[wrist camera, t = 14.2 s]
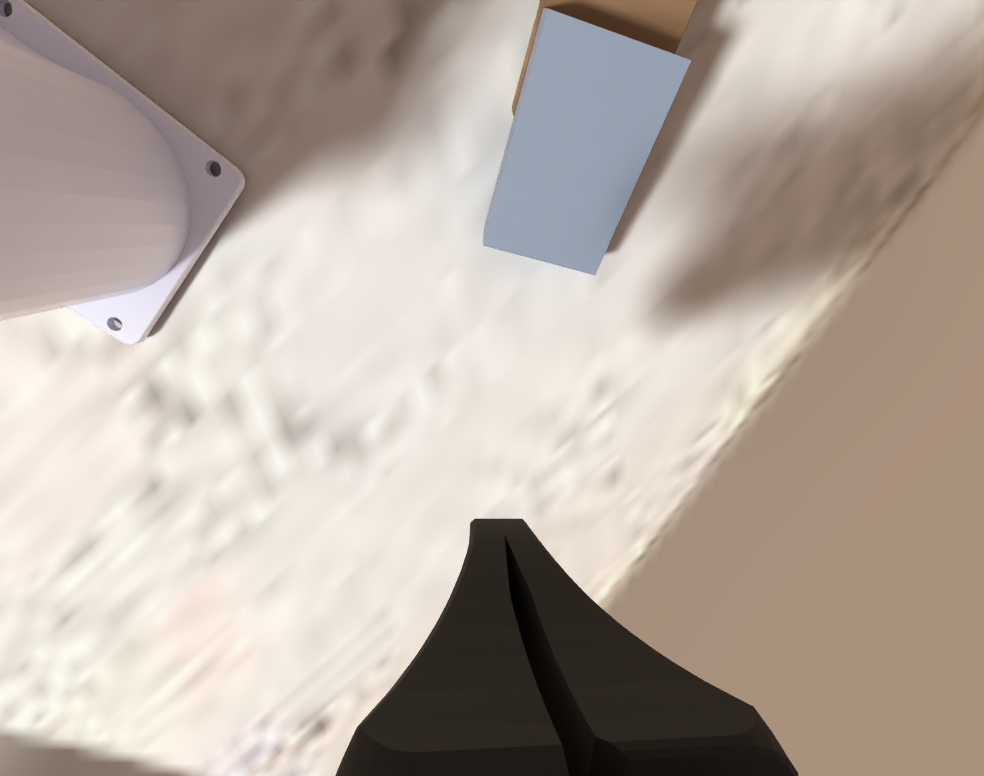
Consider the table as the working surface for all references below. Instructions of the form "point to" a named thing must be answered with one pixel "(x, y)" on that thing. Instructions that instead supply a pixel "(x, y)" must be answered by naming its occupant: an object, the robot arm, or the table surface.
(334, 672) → the table surface
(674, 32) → the domino
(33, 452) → the table surface
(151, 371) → the table surface
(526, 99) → the domino
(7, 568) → the table surface
